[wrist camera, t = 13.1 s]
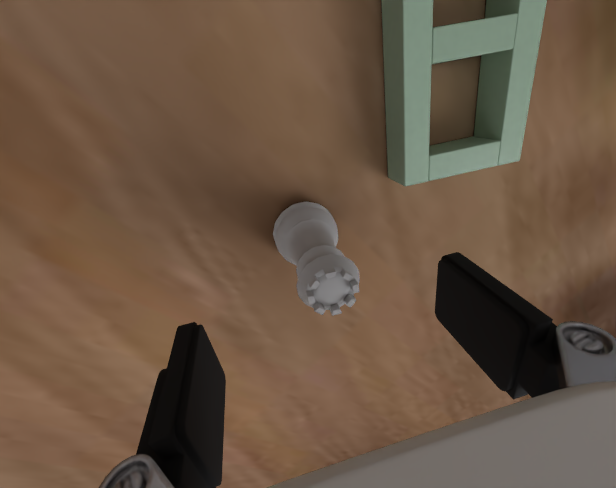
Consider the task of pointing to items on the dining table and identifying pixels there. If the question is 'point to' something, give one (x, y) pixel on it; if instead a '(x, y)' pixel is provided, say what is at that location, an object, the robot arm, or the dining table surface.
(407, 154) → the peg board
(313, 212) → the rook chess piece
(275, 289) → the dining table surface
